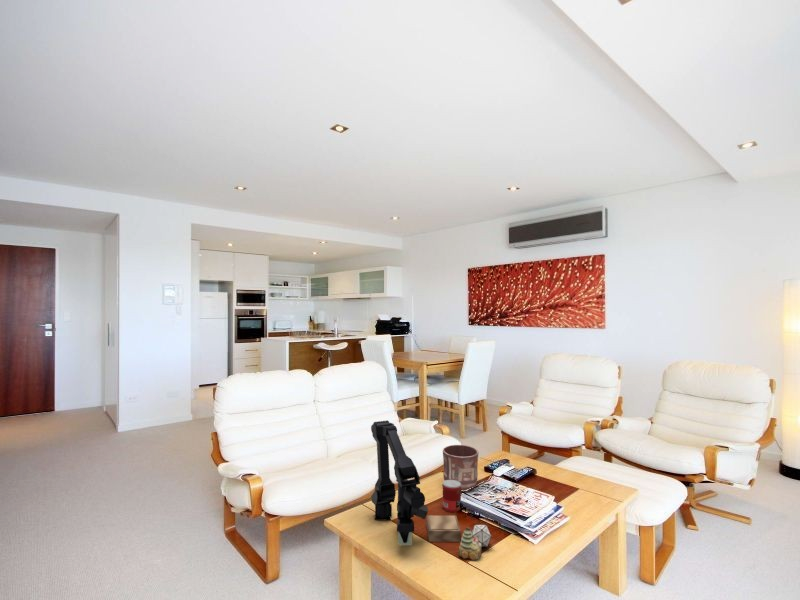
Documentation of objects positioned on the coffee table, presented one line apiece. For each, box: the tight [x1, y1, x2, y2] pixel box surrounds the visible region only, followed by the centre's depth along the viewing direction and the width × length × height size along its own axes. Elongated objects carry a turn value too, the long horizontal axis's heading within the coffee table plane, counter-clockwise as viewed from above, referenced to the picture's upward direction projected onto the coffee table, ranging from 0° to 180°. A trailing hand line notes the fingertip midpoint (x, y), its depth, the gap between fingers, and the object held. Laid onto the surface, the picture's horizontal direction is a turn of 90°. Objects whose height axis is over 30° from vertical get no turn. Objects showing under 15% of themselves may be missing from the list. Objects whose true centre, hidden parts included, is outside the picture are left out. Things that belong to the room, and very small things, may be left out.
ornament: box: [458, 526, 482, 561], centre depth 154 cm, size 8×6×10 cm
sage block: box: [397, 532, 413, 546], centre depth 163 cm, size 5×5×5 cm
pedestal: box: [426, 514, 462, 543], centre depth 169 cm, size 12×12×4 cm
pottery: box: [442, 444, 479, 490], centre depth 212 cm, size 18×18×18 cm
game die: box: [471, 522, 494, 549], centre depth 160 cm, size 9×8×10 cm
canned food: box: [442, 480, 462, 513], centre depth 190 cm, size 8×8×11 cm
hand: (405, 538), depth 163 cm, fingers closed on sage block, 5 cm apart
